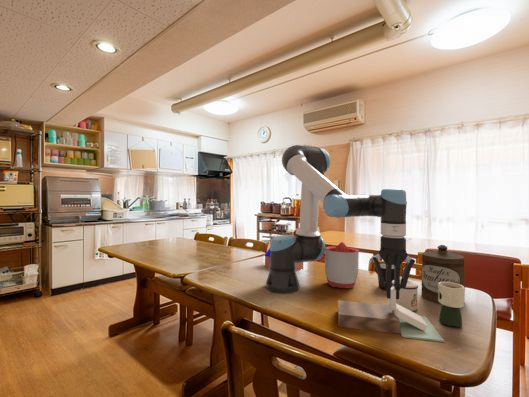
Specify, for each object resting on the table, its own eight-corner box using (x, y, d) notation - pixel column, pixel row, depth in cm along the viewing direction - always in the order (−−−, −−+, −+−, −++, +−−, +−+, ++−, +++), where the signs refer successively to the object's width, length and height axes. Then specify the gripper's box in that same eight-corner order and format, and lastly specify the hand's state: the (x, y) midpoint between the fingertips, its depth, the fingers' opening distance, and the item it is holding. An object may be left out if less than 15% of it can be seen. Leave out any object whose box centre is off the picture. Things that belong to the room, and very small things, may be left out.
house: (291, 273, 147) (291, 252, 147) (264, 267, 161) (264, 247, 161) (304, 269, 156) (304, 249, 156) (277, 263, 170) (277, 244, 170)
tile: (395, 316, 86) (398, 310, 86) (391, 307, 93) (394, 302, 93) (424, 331, 84) (427, 325, 84) (417, 321, 91) (420, 316, 91)
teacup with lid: (417, 314, 98) (417, 281, 97) (389, 308, 102) (389, 277, 102) (419, 302, 108) (419, 273, 108) (393, 298, 113) (394, 269, 112)
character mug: (439, 315, 96) (440, 278, 96) (464, 321, 92) (465, 283, 92) (435, 327, 88) (436, 286, 88) (462, 334, 83) (463, 291, 83)
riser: (338, 326, 88) (338, 314, 88) (337, 311, 99) (338, 300, 99) (399, 333, 83) (399, 320, 83) (391, 316, 95) (391, 305, 95)
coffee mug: (399, 292, 120) (399, 269, 120) (378, 290, 121) (378, 268, 121) (392, 283, 131) (392, 262, 131) (373, 282, 133) (373, 261, 133)
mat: (402, 337, 81) (402, 335, 81) (391, 314, 97) (391, 313, 97) (444, 342, 79) (444, 340, 79) (425, 318, 94) (425, 316, 94)
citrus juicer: (356, 281, 136) (357, 240, 136) (360, 291, 119) (361, 245, 119) (324, 278, 139) (325, 238, 139) (323, 288, 122) (324, 243, 123)
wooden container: (416, 298, 113) (417, 245, 112) (427, 289, 123) (427, 240, 123) (460, 309, 102) (461, 250, 102) (467, 298, 113) (468, 245, 112)
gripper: (373, 237, 87) (372, 310, 87) (418, 238, 84) (417, 315, 84) (370, 233, 94) (369, 302, 95) (411, 235, 91) (411, 306, 91)
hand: (392, 308), depth 89 cm, fingers closed
